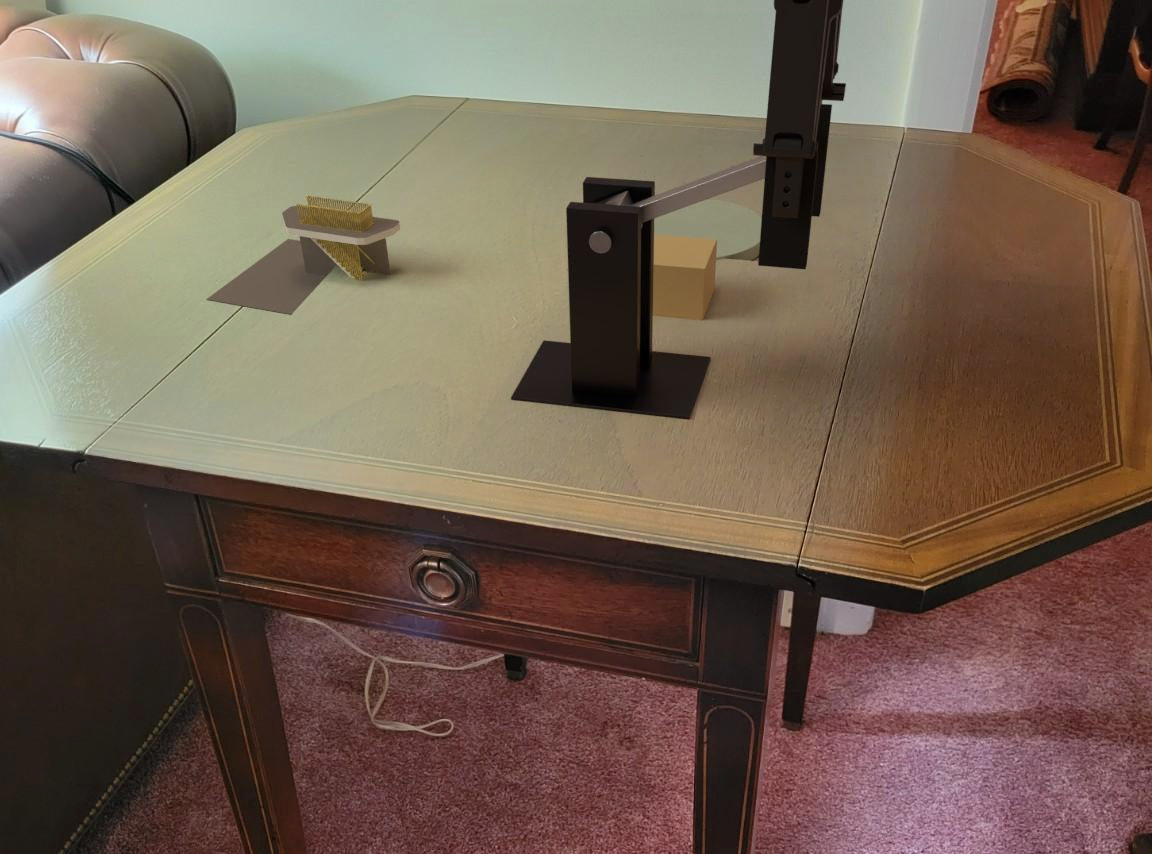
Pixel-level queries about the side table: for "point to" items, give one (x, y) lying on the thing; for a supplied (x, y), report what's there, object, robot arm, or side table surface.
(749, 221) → the plate
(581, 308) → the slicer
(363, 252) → the platform
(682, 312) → the cake slice
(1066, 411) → the side table surface
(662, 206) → the blade
